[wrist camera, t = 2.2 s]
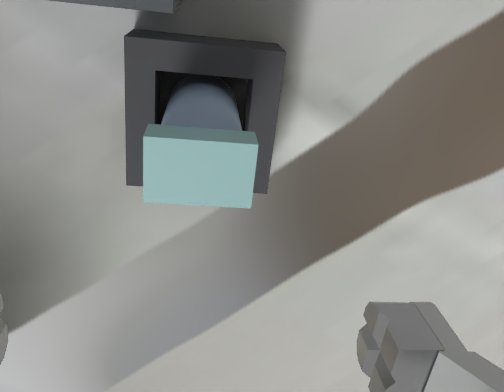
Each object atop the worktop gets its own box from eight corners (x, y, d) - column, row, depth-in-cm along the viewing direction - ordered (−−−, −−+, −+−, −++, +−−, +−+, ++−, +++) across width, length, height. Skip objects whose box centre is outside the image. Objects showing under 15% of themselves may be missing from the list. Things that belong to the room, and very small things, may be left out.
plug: (242, 76, 26) (260, 130, 17) (236, 141, 28) (249, 220, 19) (166, 69, 26) (143, 120, 17) (164, 136, 27) (143, 215, 18)
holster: (277, 43, 26) (285, 52, 23) (261, 173, 29) (266, 193, 26) (133, 29, 25) (124, 36, 22) (134, 165, 28) (126, 185, 25)
